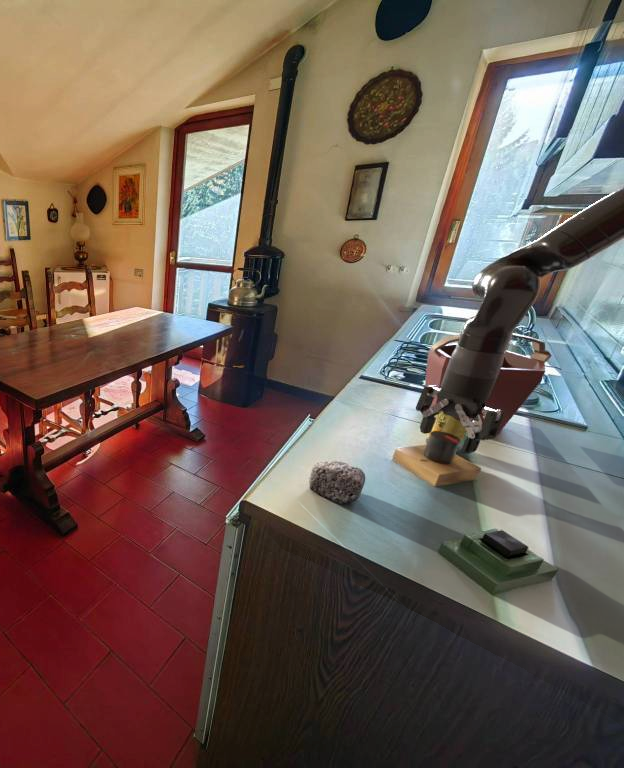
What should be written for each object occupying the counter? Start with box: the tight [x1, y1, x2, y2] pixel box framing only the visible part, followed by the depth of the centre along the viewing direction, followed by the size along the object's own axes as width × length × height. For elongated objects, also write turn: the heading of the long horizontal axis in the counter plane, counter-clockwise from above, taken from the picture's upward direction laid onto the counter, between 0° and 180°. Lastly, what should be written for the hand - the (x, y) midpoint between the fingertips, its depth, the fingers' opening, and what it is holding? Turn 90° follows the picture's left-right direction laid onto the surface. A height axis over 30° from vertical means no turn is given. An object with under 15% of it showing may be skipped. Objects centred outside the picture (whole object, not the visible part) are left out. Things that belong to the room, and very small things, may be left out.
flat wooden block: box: [391, 444, 482, 487], centre depth 84 cm, size 11×10×3 cm
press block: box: [437, 528, 559, 596], centre depth 60 cm, size 12×8×4 cm, turn 103°
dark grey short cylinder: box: [423, 431, 462, 464], centre depth 83 cm, size 5×5×6 cm
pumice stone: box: [308, 460, 366, 505], centre depth 75 cm, size 10×8×10 cm
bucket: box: [424, 332, 552, 435], centre depth 102 cm, size 24×22×25 cm
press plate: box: [481, 529, 530, 559], centre depth 59 cm, size 4×4×2 cm
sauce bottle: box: [425, 412, 472, 448], centre depth 90 cm, size 6×6×20 cm
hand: (444, 442), depth 82 cm, fingers open, 8 cm apart
